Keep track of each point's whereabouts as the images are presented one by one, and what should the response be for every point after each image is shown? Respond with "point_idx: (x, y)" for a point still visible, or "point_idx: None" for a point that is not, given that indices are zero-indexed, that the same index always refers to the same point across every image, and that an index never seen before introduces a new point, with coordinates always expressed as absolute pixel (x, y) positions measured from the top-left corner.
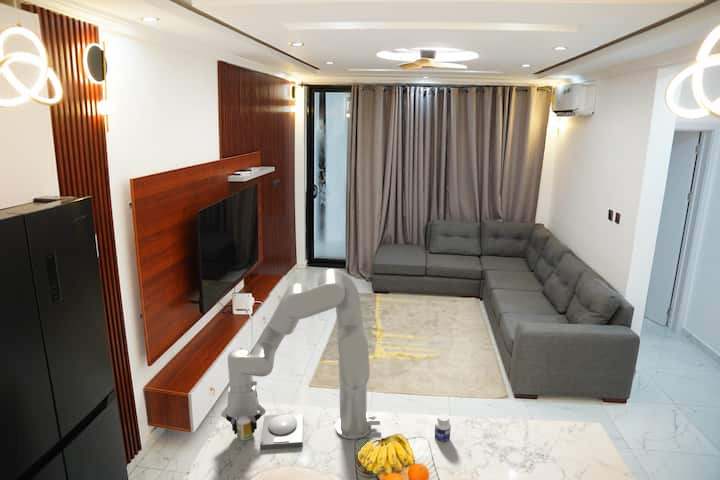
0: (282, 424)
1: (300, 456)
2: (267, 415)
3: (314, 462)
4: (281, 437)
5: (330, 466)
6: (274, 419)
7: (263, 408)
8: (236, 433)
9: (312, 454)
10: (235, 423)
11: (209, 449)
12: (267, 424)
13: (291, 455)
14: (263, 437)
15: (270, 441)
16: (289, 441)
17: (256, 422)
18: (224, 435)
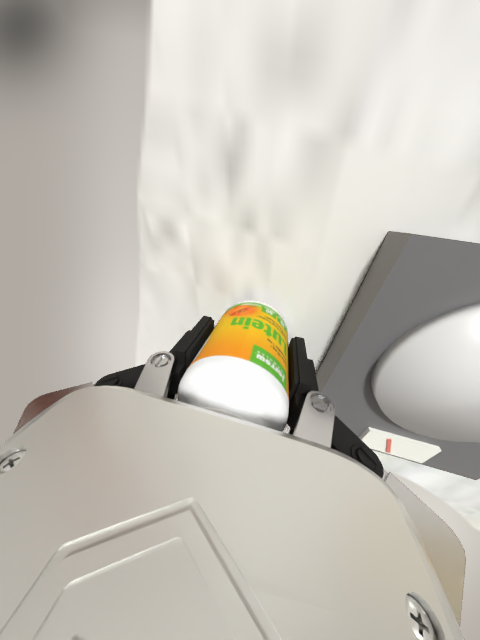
0: (478, 393)
1: (416, 469)
2: (439, 238)
3: (442, 495)
4: (403, 441)
5: (476, 517)
6: (461, 336)
7: (454, 591)
8: None
9: (462, 480)
10: None
11: (141, 351)
12: (382, 338)
13: (389, 457)
14: None
15: None
16: (423, 459)
17: (315, 383)
18: (169, 300)
